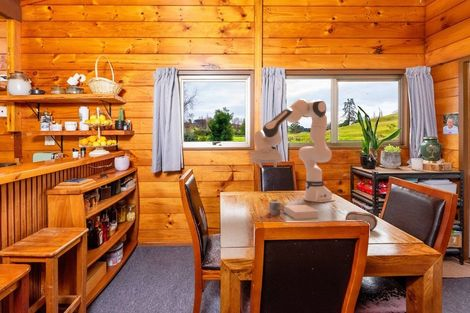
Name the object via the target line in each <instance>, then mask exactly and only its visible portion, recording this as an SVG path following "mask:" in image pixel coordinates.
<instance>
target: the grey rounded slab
mask: <svg viewBox="0 0 470 313" xmlns="http://www.w3.org/2000/svg"><path fill="white" fill-rule="evenodd" d="M345 220H363V221H366V222H367V223H369V224H370V231H373V230H374V229H375V228H377V225H378V219H377V218H376V216H375V215H373V214H372V213H367V212H360V211H350V212H348V213H347V214H346V216H345Z"/></svg>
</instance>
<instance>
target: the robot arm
mask: <svg viewBox="0 0 470 313" xmlns="http://www.w3.org/2000/svg"><path fill="white" fill-rule="evenodd" d="M326 113H327V105H326V102H325V101H324V100H321V99H316V100H312V101H307V100H306V99H304V98H299V99H297V100H295V101H294V102H293V103H292V104H291V105H290V106H289V107H288V108H285V109H283V110H282V111H281V112H279V113H278V114H277V115H276V116H275V117H274V118H272V119H271V120H270V121H269V122H267V123H265V125H263V126H262V130H257V131H256V132H255V133H254V135H253V140H254V143H255V146H256V147H255V148H256V150H250V151H249V156H250V162H251V163H252V164H257V165H258V167H259V168H260V169H261V168H263V164H264V163H266V164H270V163H271V164H272V163H273V167H274V168H277V166H278V165H277V164H279V163H281V162H282V155H281V152H280V151H278V147H277V146H279V145H280V144H281V143H282V135H281V133H280V129H279V128H280V126H281V125H282V124H283V123H284V122H285V121H287V122H289V123H291V124H295V123H298V122H299V121H300V120H301V119H302V118H311V125H310V130H309V139H310V140H311V141H312V142H313V146H303V147H300V148H299V150H298V158H299V159H300V160H301V161H302V162H303V164H304V166H305V173H306V174H305V175H306V178H305V191H304V196H303V200H305V201H307V202H315V203H327V202H335V201H336V198H334V197H333V194H332V191H331V190H329V189H328V188H327V187H326V186H325V185H327V184H328V183H327V181H324V180H323V170H322V169H321V168H320V167H319V166H318V165H317V163H327V162H329V161H330V160H331V158H332V155H333V154H332V150H331V149H330V147H328V145H327V142H326V134H327V127H328V126H327V125H328V118H327V117H328V116H327V115H326Z"/></svg>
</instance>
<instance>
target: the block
mask: <svg viewBox="0 0 470 313" xmlns="http://www.w3.org/2000/svg"><path fill="white" fill-rule="evenodd" d="M269 214H270V215H272V216H277V215H278V216H279V215H281V202H279V201H276V200H273V201H269Z"/></svg>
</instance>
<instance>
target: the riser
mask: <svg viewBox="0 0 470 313" xmlns="http://www.w3.org/2000/svg"><path fill="white" fill-rule="evenodd" d="M283 208H284V212H283V213H285V214H286V215H288V216H290V217H291V218H293V219H294V218H295V219H294V220H303V219H304V220H305V218H306V219H316V218H317V219H318V218H319V210H317V209H315V208H313V207H311V206H309V205H307V204H293V205H292V204H291V205H284V207H283Z"/></svg>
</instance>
